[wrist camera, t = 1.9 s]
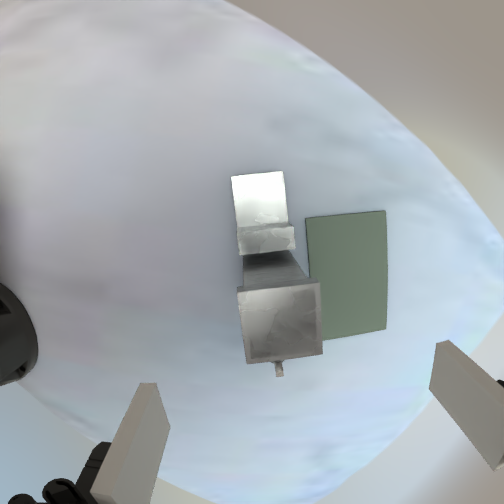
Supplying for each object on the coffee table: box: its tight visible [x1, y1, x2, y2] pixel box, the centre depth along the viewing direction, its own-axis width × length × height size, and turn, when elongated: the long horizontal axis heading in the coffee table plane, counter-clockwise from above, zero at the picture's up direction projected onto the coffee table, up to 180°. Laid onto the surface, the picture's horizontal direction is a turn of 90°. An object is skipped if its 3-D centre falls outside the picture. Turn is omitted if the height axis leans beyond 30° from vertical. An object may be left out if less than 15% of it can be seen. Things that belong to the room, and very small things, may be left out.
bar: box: [237, 250, 323, 364], centre depth 27 cm, size 5×5×14 cm
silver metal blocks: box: [231, 171, 296, 377], centre depth 32 cm, size 5×20×6 cm, turn 7°
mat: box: [305, 211, 388, 341], centre depth 35 cm, size 9×14×1 cm, turn 6°
